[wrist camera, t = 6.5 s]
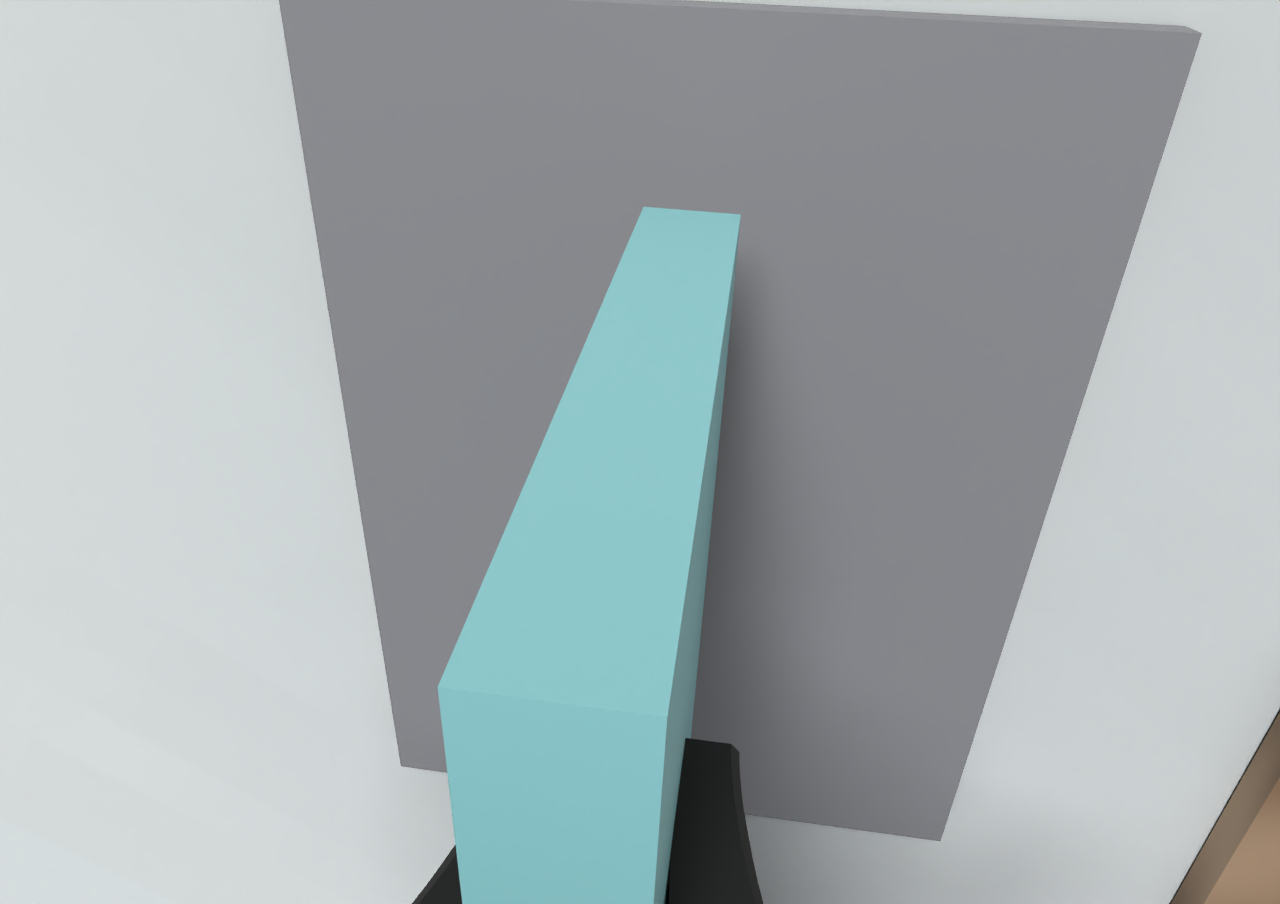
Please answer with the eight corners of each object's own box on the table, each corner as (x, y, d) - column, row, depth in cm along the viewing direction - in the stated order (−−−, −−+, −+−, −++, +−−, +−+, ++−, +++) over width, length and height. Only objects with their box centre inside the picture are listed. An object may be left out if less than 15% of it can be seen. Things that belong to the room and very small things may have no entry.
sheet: (681, 829, 18) (615, 1408, 11) (619, 819, 18) (517, 1389, 11) (741, 214, 11) (667, 718, 5) (643, 206, 12) (437, 687, 5)
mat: (936, 817, 21) (940, 840, 20) (410, 745, 22) (400, 766, 21) (1184, 26, 12) (1201, 33, 12) (296, -20, 13) (276, -15, 13)
